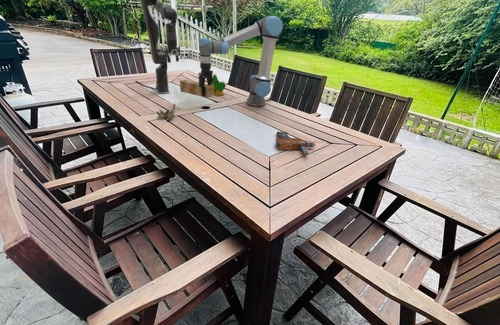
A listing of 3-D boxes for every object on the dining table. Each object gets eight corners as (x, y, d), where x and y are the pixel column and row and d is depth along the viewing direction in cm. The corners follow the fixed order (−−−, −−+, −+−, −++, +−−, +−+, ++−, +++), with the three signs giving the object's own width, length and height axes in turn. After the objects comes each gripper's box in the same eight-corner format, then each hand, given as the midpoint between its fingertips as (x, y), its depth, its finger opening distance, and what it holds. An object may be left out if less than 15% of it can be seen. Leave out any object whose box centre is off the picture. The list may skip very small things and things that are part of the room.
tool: (272, 130, 160) (281, 150, 133) (314, 131, 162) (332, 151, 136) (271, 136, 161) (280, 157, 135) (313, 137, 164) (330, 158, 138)
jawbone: (182, 108, 180) (175, 98, 171) (172, 126, 173) (165, 116, 165) (170, 106, 182) (164, 96, 174) (161, 124, 176) (153, 114, 168)
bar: (180, 91, 201) (179, 80, 197) (185, 90, 205) (185, 79, 201) (207, 97, 190) (207, 86, 186) (212, 96, 194) (212, 85, 190)
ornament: (225, 100, 236) (233, 86, 230) (219, 99, 230) (226, 84, 223) (213, 88, 246) (220, 74, 239) (206, 87, 239) (213, 72, 232)
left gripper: (174, 38, 202) (176, 60, 210) (160, 38, 191) (162, 62, 199) (182, 39, 199) (183, 61, 207) (168, 39, 188) (170, 63, 196)
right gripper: (201, 64, 173) (202, 99, 185) (217, 61, 188) (217, 94, 199) (192, 63, 176) (193, 97, 188) (209, 60, 191) (210, 92, 202)
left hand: (173, 62), depth 203 cm, fingers open, 8 cm apart
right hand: (206, 95), depth 193 cm, fingers closed on bar, 6 cm apart
